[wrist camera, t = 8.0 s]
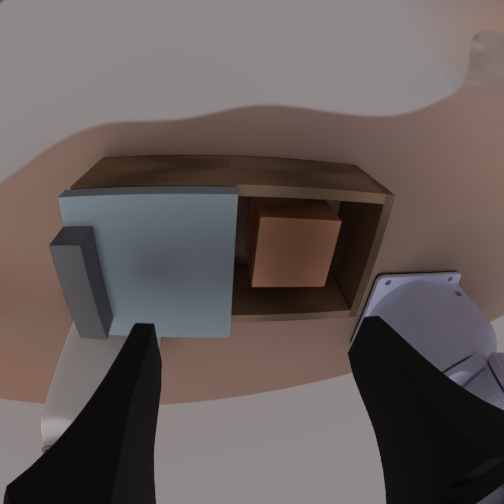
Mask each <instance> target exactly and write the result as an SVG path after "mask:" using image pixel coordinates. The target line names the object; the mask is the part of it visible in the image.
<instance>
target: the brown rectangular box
mask: <svg viewBox="0 0 504 504" xmlns="http://www.w3.org/2000/svg"><path fill="white" fill-rule="evenodd" d="M155 186H213V187H237V191H238V196H257V197H283V198H304V199H322V200H338V201H341V205H340V210H339V215H338V217H339V218H340V220H341V221H342V222H341V226H340V230H339V234H338V238H337V242H336V246H335V249H334V253H333V257H332V260H331V264H330V268H329V271H328V275H327V278H326V282H325V285H324V287H252V285H251V280H250V274H249V269H248V265H234V271H233V289H232V308H231V322H260V321H286V320H306V319H322V318H337V317H350V316H356V313H357V311H358V308H359V306H360V303H361V300H362V298H363V295H364V292H365V289H366V287H367V284H368V281H369V278H370V275H371V272H372V269H373V267H374V264H375V261H376V258H377V254H378V251H379V248H380V245H381V242H382V239H383V235H384V232H385V229H386V225H387V222H388V218H389V215H390V211H391V208H392V204H393V200H394V197H395V195H394V194H393V193H391V192H390V191H389V190H388V189H386V188H385V187H384V186H383V185H381V184H380V183H379V182H377V181H376V180H375V179H373V178H372V177H371V176H370V175H368V174H367V173H366V172H364V171H363V170H362V169H360V168H359V167H357V166H356V165H348V164H339V163H330V162H320V161H310V160H298V159H285V158H269V157H250V156H222V155H154V156H127V157H109V158H102V159H101V160H100V161H99V162H98V163H97V164H95V165H94V166H93V167H92V168H91V169H90V170H89V171H88V172H86V173H85V174H84V175H83V176H82V177H81V178H80V179H79V180H78V181H77V182H76V183H74V184H73V185H72V186H71V187H70V188H71V190H75V189H93V188H116V187H155Z"/></svg>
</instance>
